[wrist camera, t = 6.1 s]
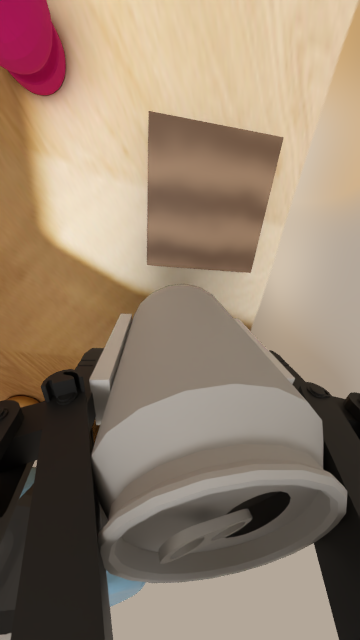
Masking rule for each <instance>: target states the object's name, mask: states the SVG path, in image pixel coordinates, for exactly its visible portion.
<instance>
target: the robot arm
mask: <svg viewBox="0 0 360 640" xmlns="http://www.w3.org/2000/svg"><path fill="white" fill-rule="evenodd" d="M233 319H234V320H235V321H236V322H237V323H238V324H239V325H240V326H241V328H242V329H243V330H244V331H245V332H246V333H247V334H248V335H249V337H250V338H251V339H252V340H253V341H254V342H255V343H256V344H257V346H258V347H259V348H260V349H261V350H262V351H263V352H264V353H265V355H266V356H267V357H268V358H269V359H270V360H271V361H272V362H273V364H274V365H275V366H276V367H277V368H278V369H279V370H280V371H281V373H282V374H283V375H284V376H285V377H286V378H287V379H288V380H289V382H290V383H291V384H292V385H293V386H294V387H295V388H296V389H297V391H298V392H299V393H300V394H301V395H302V396H303V397H304V398H305V400H306V401H307V402H308V403H309V404H310V406H311V407H312V408H313V410H314V411H315V412H316V413H317V415H318V416H319V417H320V418H321V420H322V426H323V469H324V470H325V471H327V472H330V473H331V474H332V475H333V476H334V477H335V478H336V479H337V480H338V481H339V482H340V483H341V484H342V485H343V486H344V487H345V489H346V490H347V507H346V514H345V515H344V517H343V518H342V519H341V520H340V522H339V523H338V524H337V525H336V526H335V527H334V528H333V529H332V530H331V531H330V532H328V533H327V534H326V535H324V536H323V537H322V538H320V539H319V540H318V541H316V542H314V545H315V549H316V553H317V557H318V561H319V564H320V568H321V572H322V576H323V580H324V584H325V587H326V591H327V595H328V599H329V603H330V606H331V610H332V614H333V618H334V622H335V625H336V629H337V633H338V637H339V640H360V393H350V394H349V395H348V397H347V398H346V399H342V398H338V397H333V396H331V395H330V393H329V392H328V391H326V390H325V389H324V388H322V387H320V386H318V385H316V384H313V383H309V382H305V381H304V380H303V379H302V378H301V377H300V376H299V375H298V374H297V373H296V372H295V371H294V370H293V369H292V368H291V367H289V365H288V364H287V363H286V362H285V361H284V360H283V359H282V358H281V357H280V356H279V355H278V354H276V353H275V352H273V351H270V350H268V349H267V348H266V347H265V346H264V345H263V344H262V343H261V342H260V341H259V340H258V339H257V338H256V337H255V336H254V334H253V333H252V332H251V331H250V330H249V329H248V328H247V327H246V326H245V325H244V324H243V323H242V322H241V321H240V320H239V319H236V318H233ZM131 323H132V314H120V316H119V319H118V321H117V323H116V325H115V327H114V329H113V331H112V333H111V335H110V337H109V339H108V342H107V344H106V346H105V348H92V349H90V350H89V351H88V352H86V353H85V354H84V356H83V357H82V359H81V361H80V362H79V364H78V366H77V367H76V369H75V370H73V369H68V370H62V371H59V372H56V373H54V374H52V375H50V376H49V377H48V378H47V379H45V380H44V381H43V383H42V385H41V389H42V392H43V395H44V398H45V401H43V402H40V403H36V404H32V405H28V406H24V407H20V405H19V403H18V402H16V401H14V400H4V401H0V640H113V635H112V625H111V614H110V607H111V606H113V605H115V604H117V603H120V602H122V601H124V600H126V599H128V598H130V597H132V596H133V595H135V594H136V593H137V592H139V591H140V590H141V589H142V587H143V586H144V585H145V583H146V582H140V581H131V580H127V579H124V578H121V577H118V576H115V575H112V574H110V573H109V572H108V571H107V570H106V569H105V568H104V564H103V560H102V557H101V553H100V548H99V542H98V534H99V532H100V530H101V529H102V528H103V527H104V526H105V525H106V524H107V523H108V519H107V517H106V515H105V513H104V511H103V509H102V507H101V505H100V503H99V501H98V499H97V494H96V488H95V481H94V475H93V469H92V463H91V453H92V450H93V447H94V440H93V431H92V426H93V423H94V420H96V425H100V424H101V421H102V418H103V414H104V411H105V408H106V405H107V401H108V398H109V395H110V392H111V388H112V385H113V382H114V379H115V375H116V372H117V369H118V366H119V362H120V359H121V356H122V352H123V349H124V346H125V343H126V339H127V336H128V333H129V330H130V326H131ZM97 434H98V433H97ZM35 460H37V466H36V467H32V466H33V464H34V461H35Z"/></svg>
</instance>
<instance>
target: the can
mask: <svg viewBox="0 0 360 640" xmlns="http://www.w3.org/2000/svg"><path fill="white" fill-rule="evenodd" d="M91 463H92V469H93V475H94V481H95V488H96V494H97V499H98V501H99V503H100V505H101V507H102V509H103V511H104V513H105V515H106V517H107V519H108V523H107V524H106V525H105V526H104V527H103V528H102V529H101V530H100V532H99V534H98V542H99V548H100V553H101V557H102V560H103V564H104V568H105V569H106V570H107V571H108V572H109V573H110V574H112V575H115V576H118V577H121V578H124V579H127V580H131V581H140V582H149V583H171V582H187V581H195V580H203V579H210V578H215V577H220V576H224V575H229V574H234V573H239V572H242V571H245V570H248V569H252V568H256V567H259V566H262V565H266V564H268V563H271V562H273V561H276V560H278V559H281V558H284V557H286V556H289V555H291V554H293V553H295V552H297V551H299V550H301V549H303V548H305V547H307V546H309V545H311V544H313V543H314V542H316V541H318V540H319V539H320V538H322V537H323V536H324V535H326V534H327V533H328V532H330V531H331V530H332V529H333V528H334V527H335V526H336V525H337V524H338V523H339V522H340V520H341V519H342V518H343V517H344V515H345V514H346V507H347V490H346V489H345V487H344V486H343V485H342V484H341V483H340V482H339V481H338V480H337V479H336V478H335V477H334V476H333V475H332V474H331V473H330V472H327V471H325V470H324V469H323V426H322V420H321V418H320V417H319V416H318V415H317V413H316V412H315V411H314V410H313V408H312V407H311V406H310V404H309V403H308V402H307V401H306V400H305V398H304V397H303V396H302V395H301V394H300V393H299V392H298V391H297V389H296V388H295V387H294V386H293V385H292V384H291V383H290V382H289V380H288V379H287V378H286V377H285V376H284V375H283V374H282V373H281V371H280V370H279V369H278V368H277V367H276V366H275V365H274V364H273V362H272V361H271V360H270V359H269V358H268V357H267V356H266V355H265V353H264V352H263V351H262V350H261V349H260V348H259V347H258V346H257V344H256V343H255V342H254V341H253V340H252V339H251V338H250V337H249V335H248V334H247V333H246V332H245V331H244V330H243V329H242V328H241V326H240V325H239V324H238V323H237V322H236V321H235V320H234V319H233V317H232V316H231V315H230V314H229V313H228V312H227V311H226V310H225V308H224V307H223V306H222V305H221V304H220V303H219V302H218V301H217V299H216V298H215V297H214V296H213V295H212V294H210V293H208V292H207V291H205V290H203V289H202V288H200V287H196V286H191V285H186V284H180V285H171V286H166V287H164V288H161V289H159V290H157V291H155V292H153V293H151V294H150V295H149V296H148V297H147V298H146V299H145V300H144V301H143V302H141V304H140V305H139V307H138V309H137V311H136V313H135V315H134V317H133V320H132V323H131V326H130V330H129V333H128V336H127V339H126V343H125V346H124V349H123V352H122V356H121V359H120V362H119V366H118V369H117V372H116V375H115V379H114V382H113V385H112V388H111V392H110V395H109V398H108V401H107V405H106V408H105V411H104V414H103V418H102V421H101V424H100V427H99V431H98V434H97V437H96V440H95V444H94V447H93V450H92V453H91Z"/></svg>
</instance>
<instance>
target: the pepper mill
mask: <svg viewBox="0 0 360 640" xmlns="http://www.w3.org/2000/svg"><path fill="white" fill-rule="evenodd" d="M0 66H2V67H3V68H5V69H7V70H8V71H9V73H10V74H11V75H12V76H13V77H14V78H15V79H16V80H17V81H18V82H19V83H20V84H21V85H22V86H23V87H24V88H26V89H27V90H29V91H31V92H32V93H35V94H38V95H49V94H53V93H54V92H55V91H57V90H58V89H59V88H60V86H61V84H62V83H63V80H64V76H65V68H66V64H65V55H64V50H63V47H62V43H61V41H60V38H59V36H58V34H57V32H56V30H55V28H54V26H53V24H52V22H51V17H50V12H49V8H48V5H47V1H46V0H0Z"/></svg>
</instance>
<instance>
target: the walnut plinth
mask: <svg viewBox="0 0 360 640" xmlns="http://www.w3.org/2000/svg"><path fill="white" fill-rule="evenodd" d="M283 138H284V137H278V136H273V135H268V134H263V133H258V132H253V131H248V130H243V129H238V128H233V127H227V126H222V125H217V124H212V123H207V122H202V121H197V120H192V119H187V118H182V117H176V116H171V115H166V114H161V113H156V112H151V111H149V137H148V223H147V265H154V266H167V267H181V268H194V269H208V270H221V271H235V272H248V273H251V269H252V265H253V261H254V257H255V253H256V248H257V244H258V240H259V236H260V232H261V228H262V224H263V220H264V216H265V212H266V207H267V203H268V199H269V195H270V191H271V187H272V183H273V179H274V175H275V171H276V166H277V162H278V158H279V154H280V150H281V146H282V142H283Z"/></svg>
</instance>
